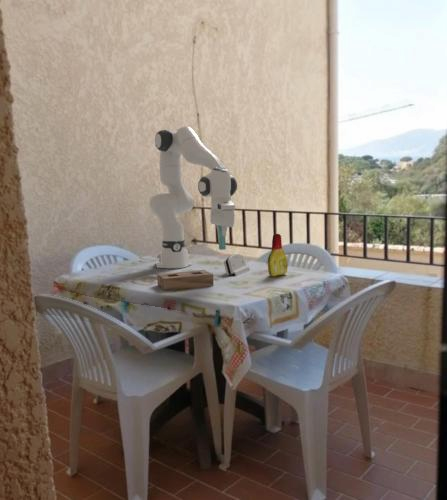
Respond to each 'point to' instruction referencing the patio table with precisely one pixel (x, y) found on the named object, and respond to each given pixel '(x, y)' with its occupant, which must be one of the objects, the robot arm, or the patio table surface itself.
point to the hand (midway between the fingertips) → (221, 235)
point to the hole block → (185, 280)
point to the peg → (221, 239)
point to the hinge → (235, 265)
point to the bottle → (277, 258)
